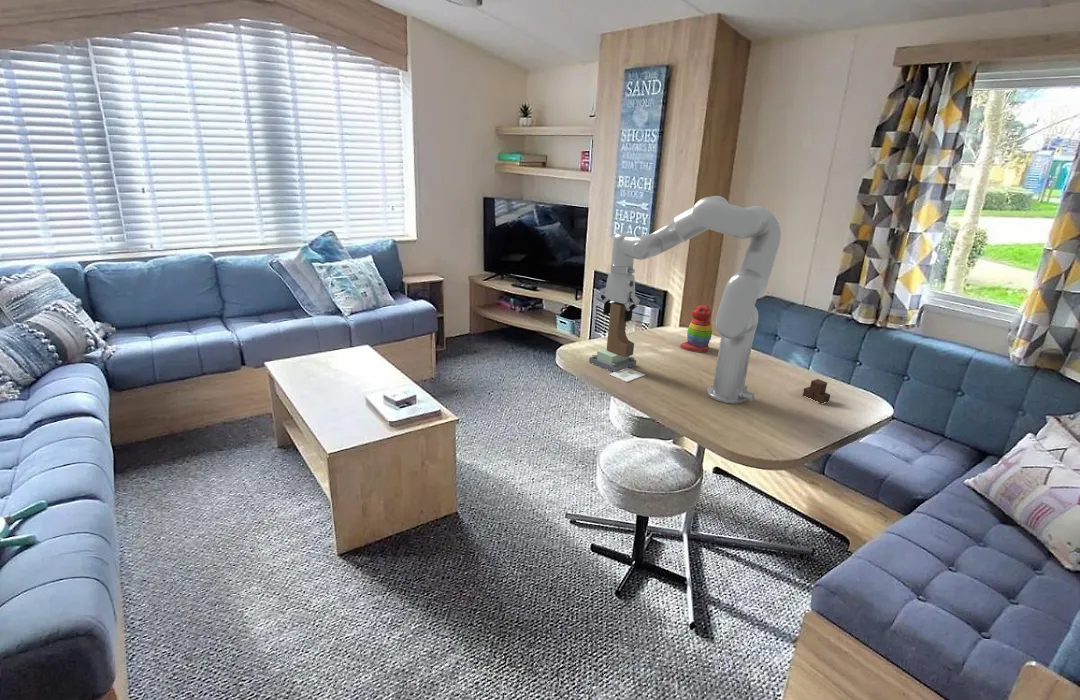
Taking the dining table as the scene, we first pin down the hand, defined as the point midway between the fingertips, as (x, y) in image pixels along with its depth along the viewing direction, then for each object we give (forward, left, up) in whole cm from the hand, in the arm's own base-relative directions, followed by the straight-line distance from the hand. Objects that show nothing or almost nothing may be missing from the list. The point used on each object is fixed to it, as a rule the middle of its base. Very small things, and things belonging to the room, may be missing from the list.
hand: (617, 317), depth 201 cm
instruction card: (-10, +4, -18) cm, 21 cm away
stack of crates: (-61, -32, -19) cm, 71 cm away
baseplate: (0, 0, -18) cm, 18 cm away
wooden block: (-2, 0, -13) cm, 13 cm away
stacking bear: (-9, -41, -18) cm, 46 cm away
